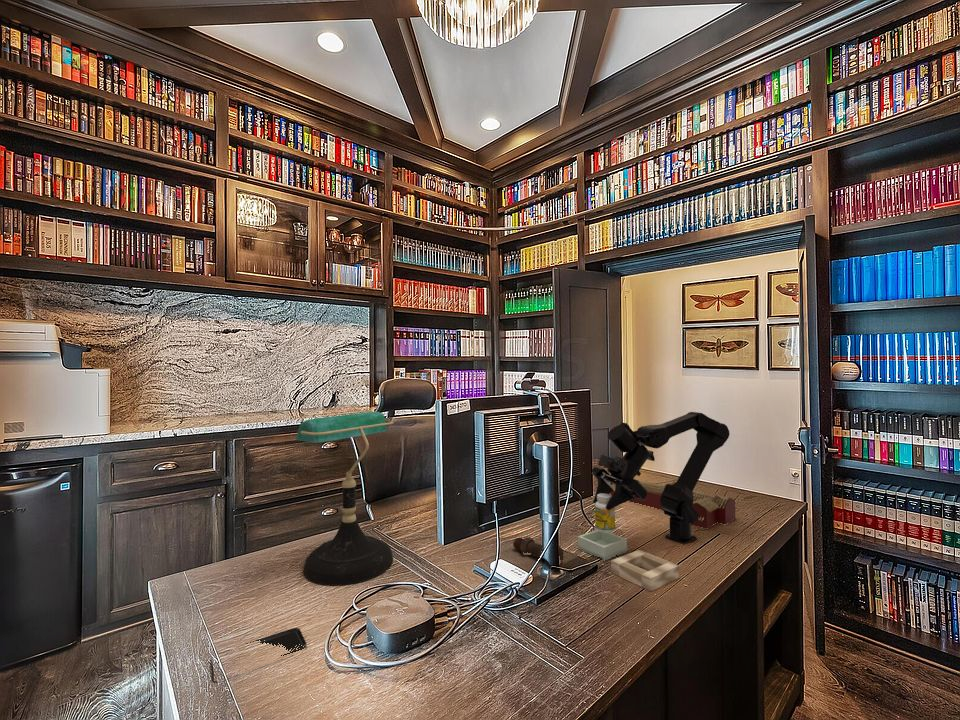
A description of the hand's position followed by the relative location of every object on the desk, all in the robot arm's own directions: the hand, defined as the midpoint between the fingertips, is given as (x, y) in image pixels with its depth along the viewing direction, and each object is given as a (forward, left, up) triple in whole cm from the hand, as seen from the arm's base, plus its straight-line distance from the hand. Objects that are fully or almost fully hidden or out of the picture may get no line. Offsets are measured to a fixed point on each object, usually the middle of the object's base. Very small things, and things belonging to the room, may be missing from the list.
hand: (600, 506), depth 122 cm
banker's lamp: (+60, -34, -13) cm, 70 cm away
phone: (+85, -7, -14) cm, 87 cm away
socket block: (+1, +15, -13) cm, 20 cm away
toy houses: (-48, -13, -14) cm, 51 cm away
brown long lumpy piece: (+16, -9, -14) cm, 23 cm away
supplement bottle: (-1, 0, -7) cm, 7 cm away
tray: (-2, -1, -13) cm, 13 cm away
